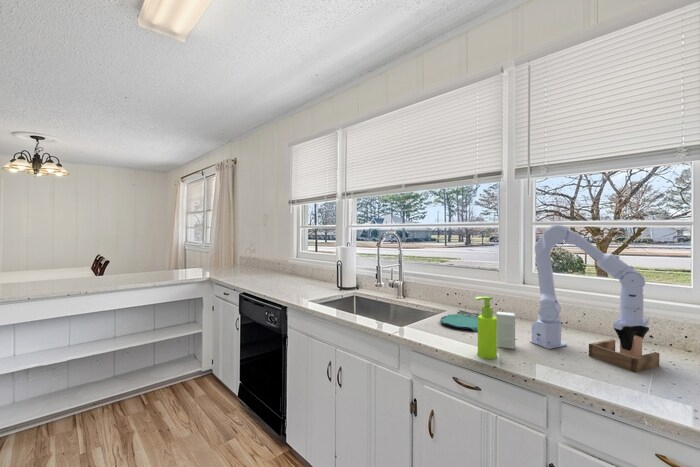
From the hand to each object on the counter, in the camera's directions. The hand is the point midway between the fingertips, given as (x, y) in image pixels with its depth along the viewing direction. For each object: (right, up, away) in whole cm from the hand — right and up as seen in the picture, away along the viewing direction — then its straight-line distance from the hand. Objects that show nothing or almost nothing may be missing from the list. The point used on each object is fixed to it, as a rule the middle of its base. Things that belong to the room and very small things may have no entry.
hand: (630, 348), depth 103 cm
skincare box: (-35, -4, +12) cm, 37 cm away
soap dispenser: (-46, -4, +4) cm, 46 cm away
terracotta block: (0, -2, 0) cm, 2 cm away
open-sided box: (-3, -4, -1) cm, 5 cm away
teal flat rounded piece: (-38, -4, +42) cm, 57 cm away
